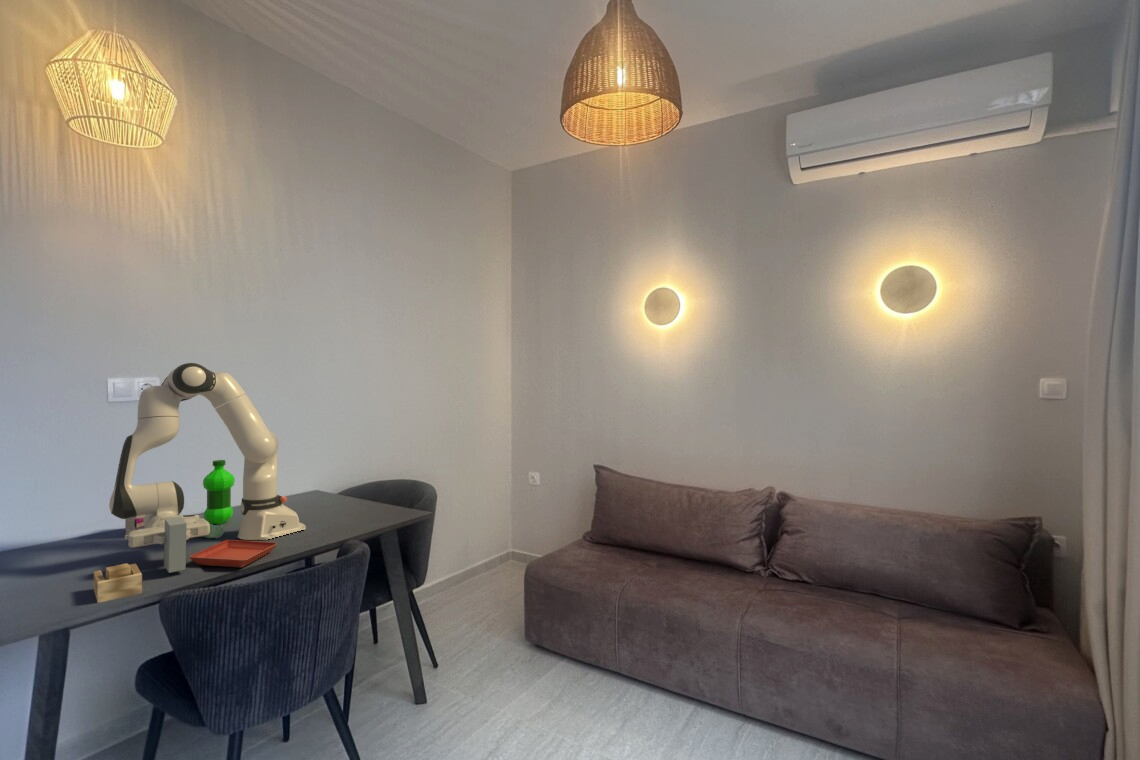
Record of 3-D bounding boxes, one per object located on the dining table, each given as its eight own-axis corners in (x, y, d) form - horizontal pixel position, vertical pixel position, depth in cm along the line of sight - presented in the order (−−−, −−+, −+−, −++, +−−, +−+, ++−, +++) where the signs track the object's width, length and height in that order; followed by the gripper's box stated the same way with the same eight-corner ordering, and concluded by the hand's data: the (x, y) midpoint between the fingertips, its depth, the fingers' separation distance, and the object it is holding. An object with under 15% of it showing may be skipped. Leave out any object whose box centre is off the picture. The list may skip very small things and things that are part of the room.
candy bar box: (153, 527, 206) (153, 485, 205) (164, 528, 205) (164, 486, 204) (123, 536, 195) (124, 491, 194) (135, 537, 194) (135, 492, 193)
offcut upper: (127, 574, 147) (127, 563, 147) (130, 577, 144) (130, 566, 144) (105, 578, 143) (105, 567, 143) (109, 582, 141) (109, 571, 141)
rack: (135, 584, 152) (135, 563, 152) (141, 596, 144) (141, 574, 144) (93, 593, 146) (93, 571, 146) (97, 606, 138) (97, 583, 138)
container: (224, 521, 196) (170, 514, 201) (210, 531, 190) (155, 524, 196) (229, 533, 198) (175, 527, 204) (216, 544, 193) (161, 537, 198)
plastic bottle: (214, 518, 219) (215, 458, 218) (239, 519, 218) (240, 459, 218) (196, 526, 209) (197, 462, 208) (222, 526, 208) (223, 463, 208)
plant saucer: (278, 551, 181) (278, 541, 181) (244, 570, 163) (244, 559, 163) (226, 549, 182) (226, 539, 182) (187, 567, 164) (187, 556, 164)
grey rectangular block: (179, 561, 163) (181, 516, 163) (185, 569, 158) (186, 523, 157) (163, 564, 160) (164, 518, 160) (168, 572, 155) (169, 525, 154)
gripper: (123, 525, 161) (130, 535, 152) (203, 513, 176) (214, 522, 166) (123, 546, 161) (129, 557, 152) (203, 532, 176) (214, 542, 166)
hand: (174, 539), depth 159 cm, fingers closed on grey rectangular block, 4 cm apart
